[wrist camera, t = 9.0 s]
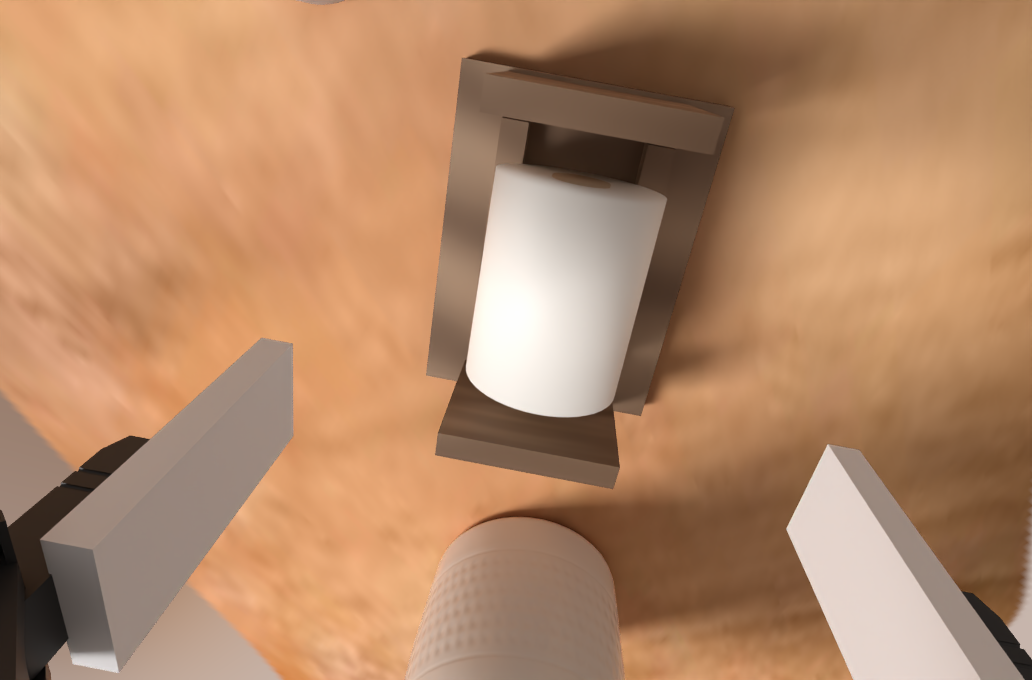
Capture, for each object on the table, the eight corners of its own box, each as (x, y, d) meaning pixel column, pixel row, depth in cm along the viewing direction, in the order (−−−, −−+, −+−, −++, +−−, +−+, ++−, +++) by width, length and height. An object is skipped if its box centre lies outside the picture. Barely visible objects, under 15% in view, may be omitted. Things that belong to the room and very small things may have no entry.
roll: (506, 155, 27) (484, 173, 21) (656, 183, 27) (681, 210, 21) (478, 336, 31) (452, 399, 24) (610, 362, 31) (619, 432, 24)
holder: (465, 57, 27) (425, 55, 19) (729, 106, 26) (787, 122, 19) (430, 366, 34) (390, 450, 26) (639, 406, 33) (656, 501, 26)
